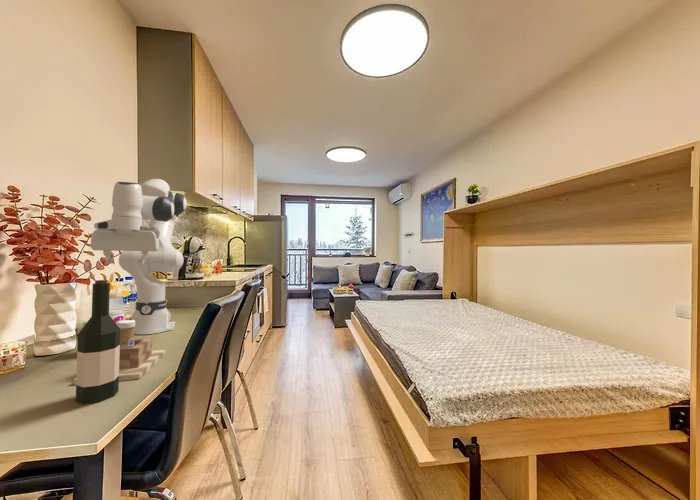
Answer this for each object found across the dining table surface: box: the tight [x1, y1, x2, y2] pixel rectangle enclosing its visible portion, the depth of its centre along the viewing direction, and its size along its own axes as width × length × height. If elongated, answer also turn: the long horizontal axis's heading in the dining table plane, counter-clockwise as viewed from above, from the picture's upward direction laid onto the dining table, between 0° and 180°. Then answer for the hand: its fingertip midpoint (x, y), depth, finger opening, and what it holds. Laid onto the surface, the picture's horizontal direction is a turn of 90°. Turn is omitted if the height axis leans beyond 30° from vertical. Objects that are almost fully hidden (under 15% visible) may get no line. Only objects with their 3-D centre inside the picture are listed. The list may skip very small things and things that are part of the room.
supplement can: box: [109, 308, 125, 325], centre depth 108 cm, size 8×8×15 cm
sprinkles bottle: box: [118, 319, 135, 347], centre depth 93 cm, size 5×5×14 cm
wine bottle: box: [75, 279, 120, 405], centre depth 75 cm, size 8×8×30 cm
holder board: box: [72, 337, 166, 386], centre depth 93 cm, size 22×16×8 cm
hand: (125, 263), depth 104 cm, fingers open, 8 cm apart
